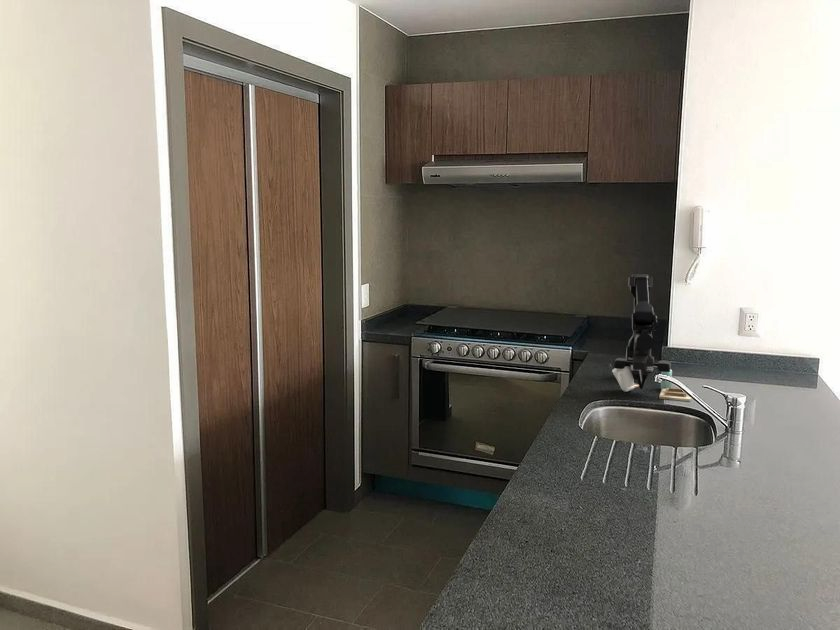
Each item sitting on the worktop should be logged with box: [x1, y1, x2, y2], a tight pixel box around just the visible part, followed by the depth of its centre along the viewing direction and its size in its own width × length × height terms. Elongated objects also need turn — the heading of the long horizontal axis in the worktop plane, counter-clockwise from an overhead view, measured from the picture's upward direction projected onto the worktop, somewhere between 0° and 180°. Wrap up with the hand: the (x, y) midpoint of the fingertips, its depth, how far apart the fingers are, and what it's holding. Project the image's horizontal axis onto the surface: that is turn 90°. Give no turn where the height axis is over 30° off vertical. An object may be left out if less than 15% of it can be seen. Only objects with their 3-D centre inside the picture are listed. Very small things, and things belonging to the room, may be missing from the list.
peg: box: [660, 369, 673, 390], centre depth 253 cm, size 4×4×7 cm
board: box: [658, 387, 692, 402], centre depth 243 cm, size 12×10×2 cm
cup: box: [611, 366, 636, 393], centre depth 249 cm, size 7×10×8 cm
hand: (641, 388), depth 248 cm, fingers closed
